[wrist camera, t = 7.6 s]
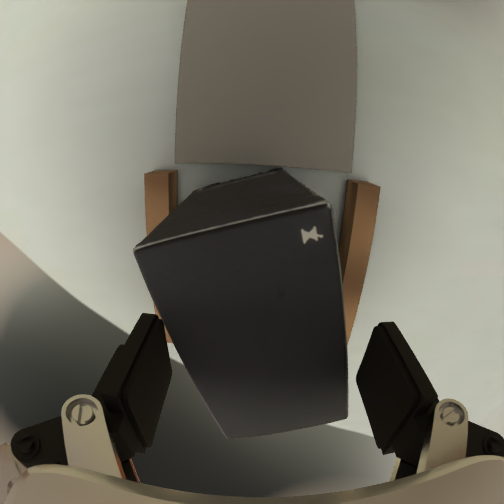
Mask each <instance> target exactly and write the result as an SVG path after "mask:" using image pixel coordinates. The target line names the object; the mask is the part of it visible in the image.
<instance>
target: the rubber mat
mask: <svg viewBox="0 0 504 504" xmlns="http://www.w3.org/2000/svg"><path fill="white" fill-rule="evenodd" d="M356 88H357V47H356V20H355V5H354V0H188V1H187V7H186V14H185V22H184V29H183V38H182V47H181V56H180V67H179V79H178V93H177V110H176V133H175V163H226V164H253V165H271V166H286V167H298V168H310V169H320V170H329V171H338V172H347V173H351V172H352V161H353V149H354V135H355V117H356Z"/></svg>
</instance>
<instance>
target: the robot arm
mask: <svg viewBox="0 0 504 504" xmlns="http://www.w3.org/2000/svg"><path fill="white" fill-rule="evenodd" d="M171 376H172V369H171V363H170V358H169V352H168V346H167V340H166V334H165V327H164V323H163V321H162V319H159V316H158V315H156V314H147V313H142V315H141V316H140V318H139V320H138V321H137V323H136V325H135V327H134V329H133V330H132V332H131V334H130V336H129V338H128V339H127V341H126V343H125V345H120V346H119V347H118V348H117V350H116V352H115V353H114V355H113V357H112V359H111V361H110V362H109V364H108V366H107V368H106V370H105V372H104V374H103V375H102V377H101V379H100V381H99V383H98V385H97V387H96V389H95V391H94V393H93V395H92V396H90V395H77V396H74V397H72V398H70V399H69V400H67V401H66V403H65V404H64V405H63V408H62V414H61V416H59V417H56V418H54V419H51V420H48V421H45V422H42V423H39V424H36V425H33V426H31V427H27V428H24V429H21V430H20V431H18V432H17V433H16V434H15V435H14V436H13V438H12V440H11V444H10V445H8V444H7V443H4V444H2V445H0V504H504V439H503V437H502V436H501V435H500V434H498V433H496V432H494V431H491V430H489V429H486V428H484V427H482V426H479V425H477V424H475V423H472V422H470V421H468V412H467V410H466V408H465V407H464V406H463V405H462V404H461V403H460V402H459V401H457V400H454V399H443V400H441V401H440V402H439V400H438V398H437V397H438V395H437V393H436V391H435V389H434V388H433V386H432V384H431V382H430V381H429V379H428V377H427V375H426V373H425V372H424V370H423V368H422V367H421V365H420V363H419V361H418V360H417V358H416V356H415V355H414V353H413V351H412V350H411V348H410V346H409V345H408V343H407V342H406V340H405V338H404V337H403V335H402V334H401V332H400V330H399V329H398V327H397V326H396V324H395V323H394V322H381V323H379V324H378V326H375V327H374V329H373V332H372V335H371V338H370V341H369V343H368V346H367V349H366V352H365V354H364V357H363V360H362V362H361V365H360V368H359V370H358V373H357V376H356V382H357V386H358V389H359V392H360V395H361V398H362V401H363V404H364V407H365V410H366V413H367V416H368V419H369V422H370V425H371V428H372V432H373V435H374V438H375V441H376V445H377V447H378V448H380V449H381V450H382V453H383V455H385V454H389V453H394V452H395V454H396V457H397V459H396V463H395V466H394V469H393V472H392V475H391V478H390V481H389V482H386V483H382V484H377V485H373V486H368V487H363V488H358V489H353V490H347V491H340V492H334V493H326V494H319V495H307V496H294V497H271V498H270V497H260V498H259V497H231V496H217V495H207V494H198V493H191V492H183V491H178V490H171V489H166V488H160V487H156V486H151V485H146V484H142V483H140V481H139V479H138V476H137V474H136V471H135V468H134V466H133V463H132V460H131V458H132V457H134V456H135V453H136V452H140V453H145V450H146V447H151V445H152V442H153V439H154V435H155V431H156V428H157V424H158V421H159V417H160V414H161V410H162V407H163V404H164V400H165V397H166V394H167V390H168V387H169V384H170V380H171Z"/></svg>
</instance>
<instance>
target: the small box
mask: <svg viewBox="0 0 504 504" xmlns="http://www.w3.org/2000/svg"><path fill="white" fill-rule="evenodd" d="M133 251H134V256H135V258H136V260H137V263H138V265H139V268H140V270H141V273H142V275H143V278H144V280H145V283H146V285H147V288H148V290H149V292H150V295H151V297H152V299H153V301H154V304H155V306H156V308H157V310H158V312H159V315H160V317H161V319H162V321H163V323H164V325H165V327H166V329H167V332H168V334H169V336H170V338H171V340H172V342H173V344H174V346H175V348H176V350H177V352H178V354H179V356H180V358H181V360H182V362H183V363H184V365H185V367H186V369H187V371H188V373H189V375H190V376H191V378H192V380H193V382H194V384H195V386H196V388H197V389H198V391H199V393H200V395H201V397H202V398H203V400H204V402H205V403H206V405H207V407H208V408H209V410H210V412H211V414H212V415H213V417H214V419H215V421H216V422H217V424H218V425H219V427H220V428H221V430H222V432H223V434H224V435H225V437H226V438H228V439H233V438H245V437H253V436H261V435H269V434H274V433H281V432H287V431H292V430H297V429H302V428H307V427H312V426H317V425H321V424H327V423H331V422H335V421H339V420H343V419H346V418H347V417H348V355H347V334H346V321H345V310H344V295H343V286H342V274H341V266H340V258H339V251H338V243H337V235H336V229H335V222H334V214H333V208H332V205H331V204H330V203H328V202H327V201H326V200H325V199H324V198H322V197H320V196H318V195H317V194H315V192H313V191H311V190H310V189H309V188H307V187H306V186H305V185H303V184H302V183H300V182H298V181H297V180H296V179H295V178H293V177H292V176H290V175H289V174H288V173H287V172H286V171H285V170H283V169H282V168H279V169H273V170H271V171H269V172H266V173H259V174H257V175H256V174H255V175H252V176H249V177H244V178H240V179H236V180H231V181H228V182H224V183H216V184H212V185H210V186H207V187H204V188H202V189H199V190H195V191H193V192H192V194H190V195H189V196H188V197H187V198H186V199H185V200H184V201H183V202H182V203H181V204H180V205H179V206H178V207H177V208H176V209H174V210H173V211H172V212H171V213H170V214H169V215H168V216H167V217H166V218H165V219H164V220H163V221H162V222H160V223H159V224H158V225H157V226H156V227H155V228H154V230H153V231H151V232H150V234H149V235H148V236H147V237H145V238H144V240H143V241H142V242H140V243H139V244H137V245H136V247H135V248H134V249H133Z"/></svg>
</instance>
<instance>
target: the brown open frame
mask: <svg viewBox="0 0 504 504" xmlns="http://www.w3.org/2000/svg"><path fill="white" fill-rule="evenodd" d="M144 176H145V210H146V228H147V236H148V235H149V234H150V232H151V231H153V230H154V228H155V227H156V226H157V225H158V224H159V223H160V222H162V221H163V220H164V219H165V218H166V217H167V216H168V215H169V214H170V213H171V212H172V211H173V210H174V209H176V208H177V170H159V171H152V172H149V173H145V174H144ZM379 194H380V186H377V185H374V184H372V183H369V182H363V181H355V180H348V181H347V191H346V200H345V208H344V216H343V223H342V230H341V237H340V244H339V250H338V251H339V258H340V266H341V274H342V286H343V295H344V310H345V321H346V334H347V345H348V341H349V338H350V334H351V331H352V327H353V324H354V320H355V316H356V312H357V308H358V304H359V300H360V296H361V292H362V288H363V283H364V279H365V274H366V270H367V265H368V260H369V255H370V250H371V245H372V239H373V233H374V228H375V221H376V215H377V208H378V201H379ZM154 308H155V314H156V315H158V316H159V319H161V317H160V315H159V312H158V310H157V308H156V306H155V304H154ZM164 327H165V325H164ZM165 334H166V340H167V342H169V343H173V342H172V340H171V338H170V336H169V334H168V332H167V329H166V327H165Z"/></svg>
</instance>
